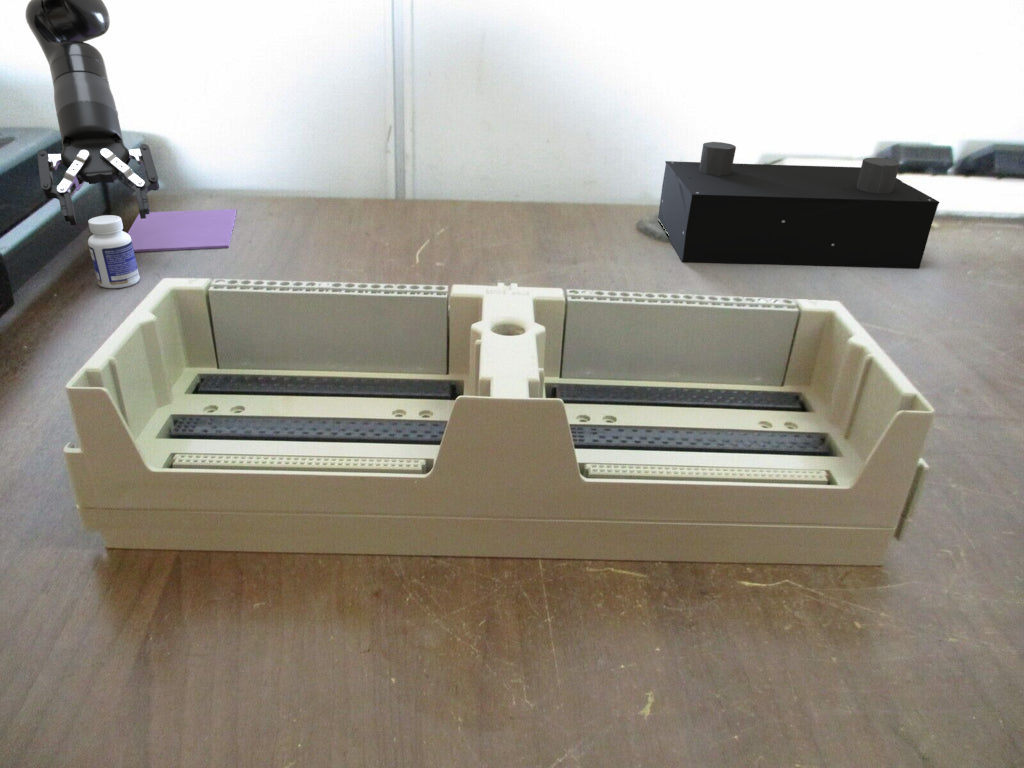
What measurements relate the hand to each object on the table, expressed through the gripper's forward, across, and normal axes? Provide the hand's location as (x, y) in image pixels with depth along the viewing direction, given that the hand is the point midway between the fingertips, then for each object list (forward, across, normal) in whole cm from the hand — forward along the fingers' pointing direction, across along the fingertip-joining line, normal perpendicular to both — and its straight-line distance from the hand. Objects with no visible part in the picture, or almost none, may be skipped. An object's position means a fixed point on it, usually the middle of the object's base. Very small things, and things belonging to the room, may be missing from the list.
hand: (108, 219), depth 103 cm
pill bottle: (+7, 0, +5) cm, 9 cm away
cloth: (-8, +10, +20) cm, 23 cm away
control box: (+21, +101, -9) cm, 104 cm away
